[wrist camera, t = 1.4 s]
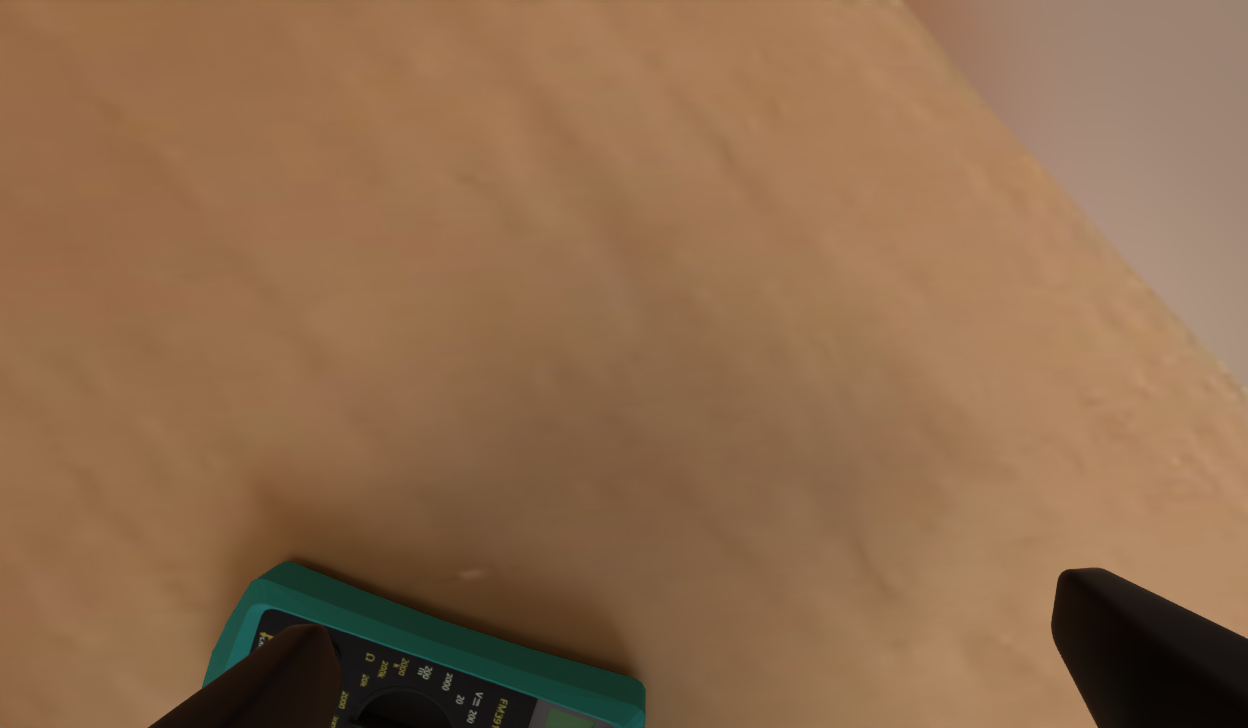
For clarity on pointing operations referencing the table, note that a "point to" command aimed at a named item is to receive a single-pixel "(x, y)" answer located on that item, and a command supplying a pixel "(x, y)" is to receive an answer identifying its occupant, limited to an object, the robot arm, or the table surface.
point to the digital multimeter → (424, 663)
